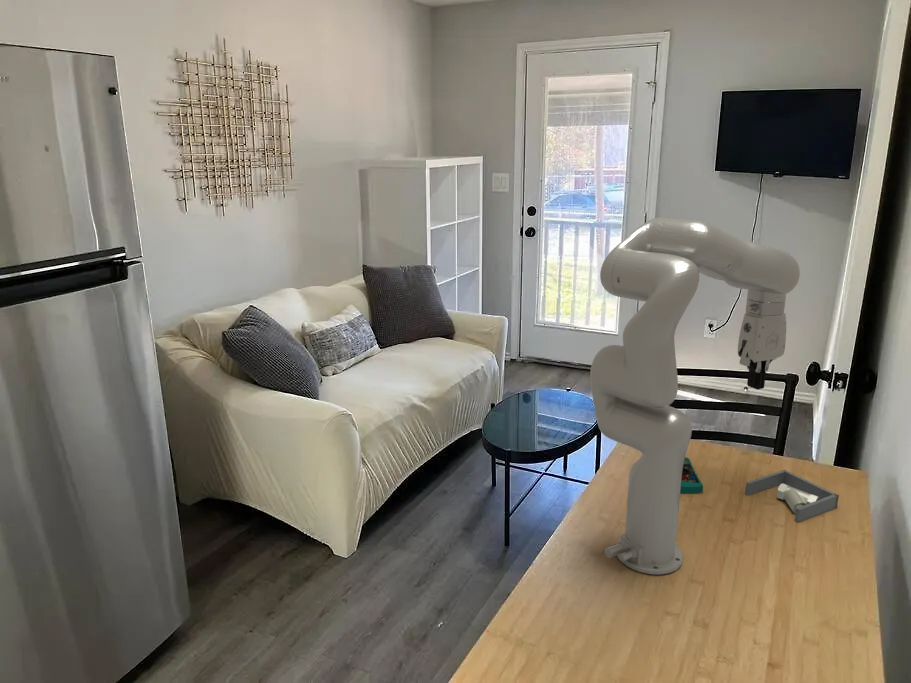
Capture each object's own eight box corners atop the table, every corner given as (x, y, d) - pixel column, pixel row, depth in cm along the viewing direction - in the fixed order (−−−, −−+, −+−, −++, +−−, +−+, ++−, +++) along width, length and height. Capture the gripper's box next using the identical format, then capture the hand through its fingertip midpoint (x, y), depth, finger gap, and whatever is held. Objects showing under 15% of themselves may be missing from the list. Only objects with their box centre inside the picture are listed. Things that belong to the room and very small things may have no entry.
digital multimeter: (670, 494, 153) (671, 483, 152) (658, 465, 167) (659, 454, 166) (703, 496, 152) (704, 484, 151) (688, 466, 166) (689, 455, 165)
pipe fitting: (805, 522, 141) (819, 509, 145) (807, 506, 140) (821, 493, 144) (768, 507, 147) (783, 494, 151) (770, 492, 146) (784, 480, 150)
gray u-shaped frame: (797, 522, 140) (799, 509, 139) (744, 493, 152) (746, 482, 151) (836, 507, 145) (838, 495, 144) (782, 481, 157) (784, 469, 156)
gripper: (755, 315, 135) (745, 398, 141) (803, 306, 142) (792, 386, 147) (726, 307, 142) (717, 387, 147) (773, 299, 148) (764, 376, 154)
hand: (755, 387), depth 147 cm, fingers closed
